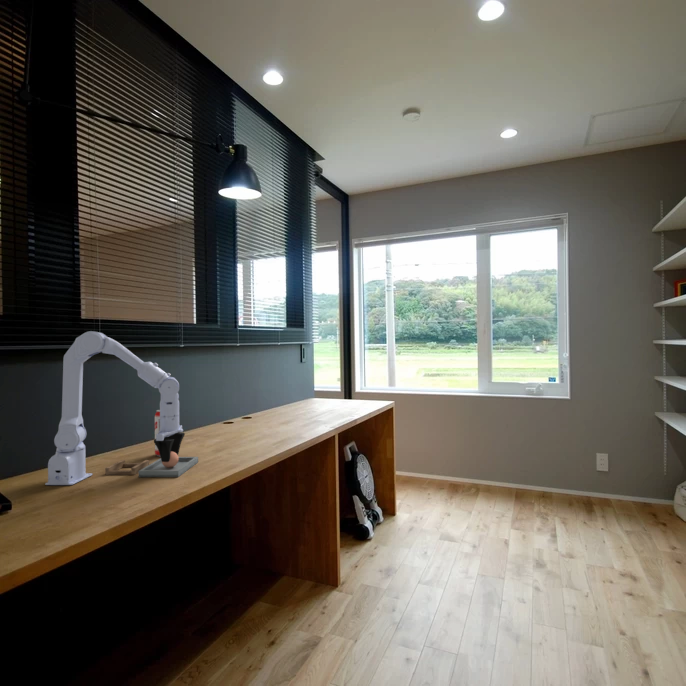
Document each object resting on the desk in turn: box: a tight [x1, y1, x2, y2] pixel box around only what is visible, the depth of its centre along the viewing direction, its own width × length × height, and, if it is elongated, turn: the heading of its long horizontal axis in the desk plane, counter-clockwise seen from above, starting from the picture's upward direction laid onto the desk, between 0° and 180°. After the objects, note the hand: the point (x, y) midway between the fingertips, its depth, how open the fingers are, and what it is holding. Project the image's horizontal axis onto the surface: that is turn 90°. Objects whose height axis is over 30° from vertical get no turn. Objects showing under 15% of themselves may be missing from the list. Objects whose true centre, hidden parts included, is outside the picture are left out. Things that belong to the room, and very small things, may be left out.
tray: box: [138, 456, 199, 478], centre depth 134 cm, size 16×12×2 cm
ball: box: [162, 451, 179, 468], centre depth 134 cm, size 5×5×5 cm
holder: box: [104, 459, 150, 476], centre depth 133 cm, size 9×9×2 cm
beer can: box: [154, 409, 160, 457], centre depth 152 cm, size 6×6×16 cm
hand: (170, 458), depth 134 cm, fingers open, 6 cm apart
